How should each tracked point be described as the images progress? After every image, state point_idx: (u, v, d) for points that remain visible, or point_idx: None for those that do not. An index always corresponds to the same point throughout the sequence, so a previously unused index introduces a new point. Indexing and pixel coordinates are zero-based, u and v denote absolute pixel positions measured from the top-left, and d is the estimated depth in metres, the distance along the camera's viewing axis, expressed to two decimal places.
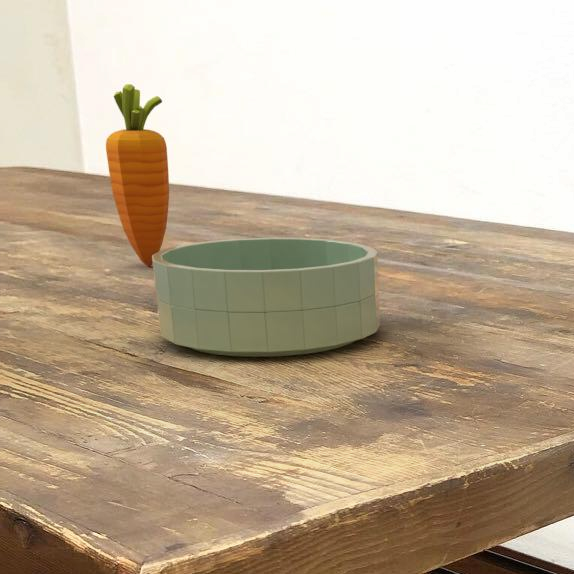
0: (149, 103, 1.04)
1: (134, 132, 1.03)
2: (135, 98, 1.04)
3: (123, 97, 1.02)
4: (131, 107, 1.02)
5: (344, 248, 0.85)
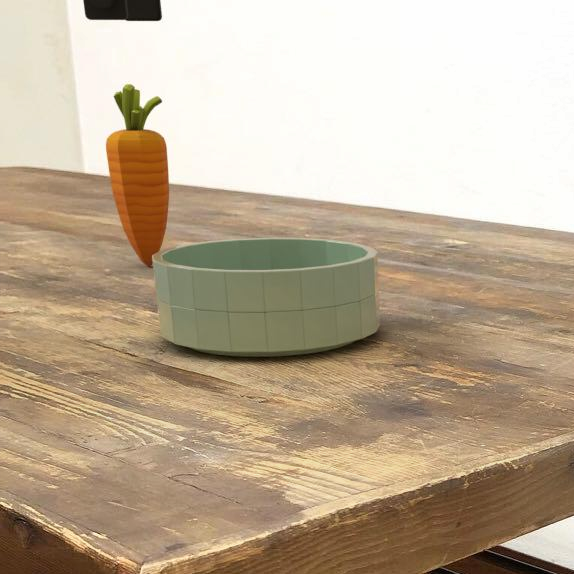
0: (149, 103, 1.04)
1: (134, 132, 1.03)
2: (135, 98, 1.04)
3: (123, 97, 1.02)
4: (131, 107, 1.02)
5: (344, 248, 0.85)
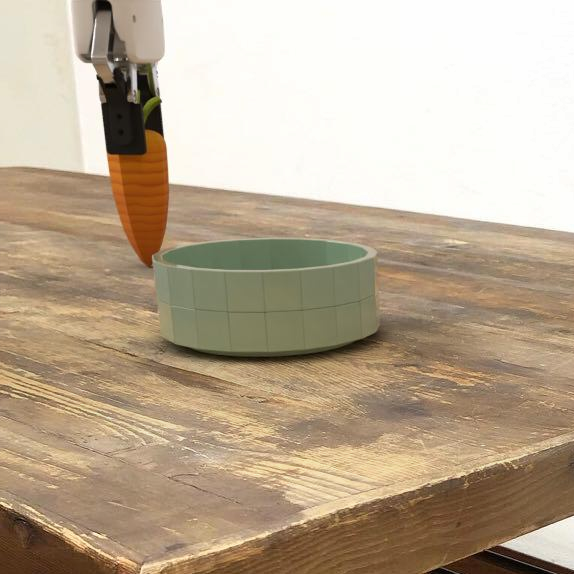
0: (148, 103, 1.04)
1: None
2: None
3: None
4: None
5: (344, 248, 0.85)
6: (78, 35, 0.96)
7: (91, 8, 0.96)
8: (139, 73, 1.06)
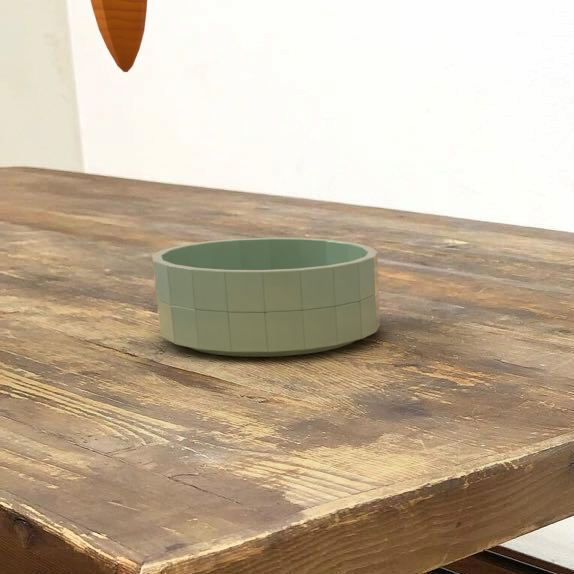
0: None
1: None
2: None
3: None
4: None
5: (344, 248, 0.85)
6: None
7: None
8: None
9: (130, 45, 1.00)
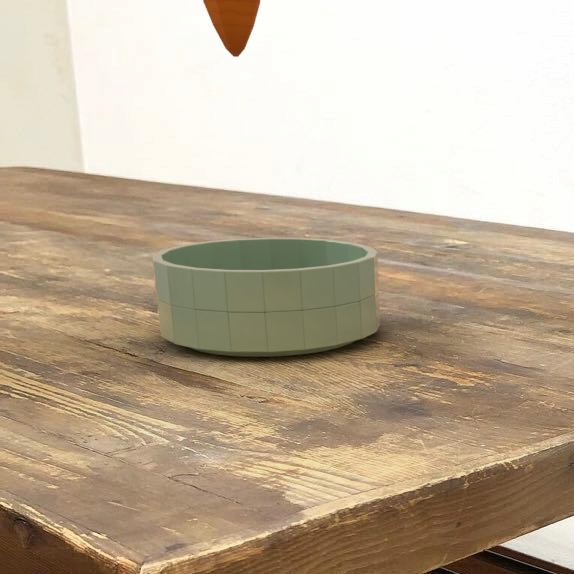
0: None
1: None
2: None
3: None
4: None
5: (344, 248, 0.85)
6: None
7: None
8: None
9: (244, 21, 0.77)
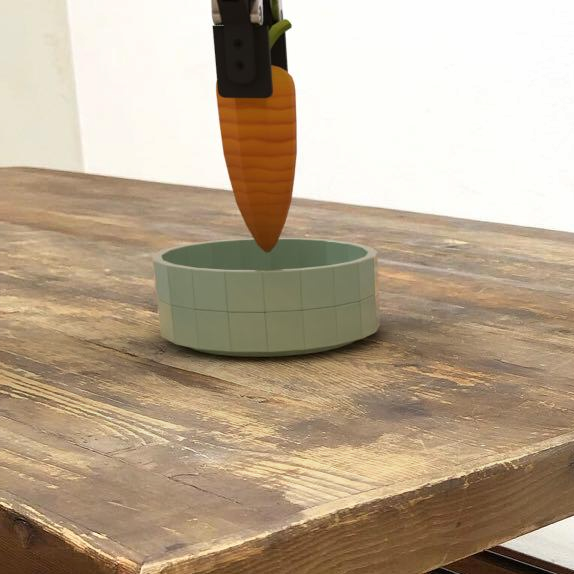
0: (274, 29, 0.76)
1: None
2: None
3: None
4: None
5: (344, 248, 0.85)
6: None
7: None
8: None
9: (276, 222, 0.79)
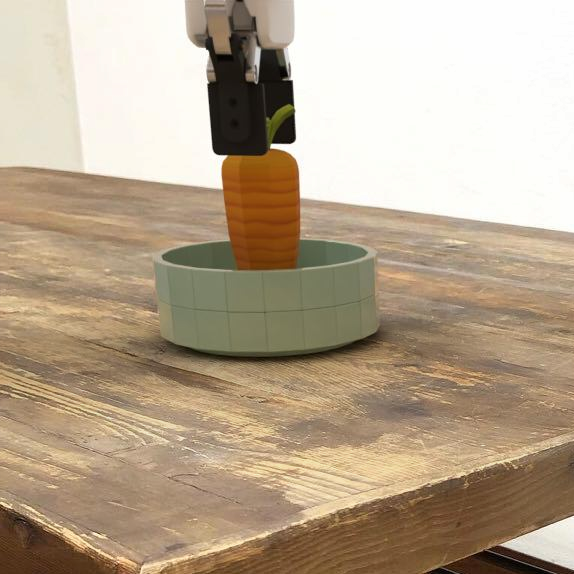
0: (278, 114, 0.78)
1: None
2: None
3: None
4: None
5: (344, 248, 0.85)
6: (192, 9, 0.70)
7: None
8: None
9: None
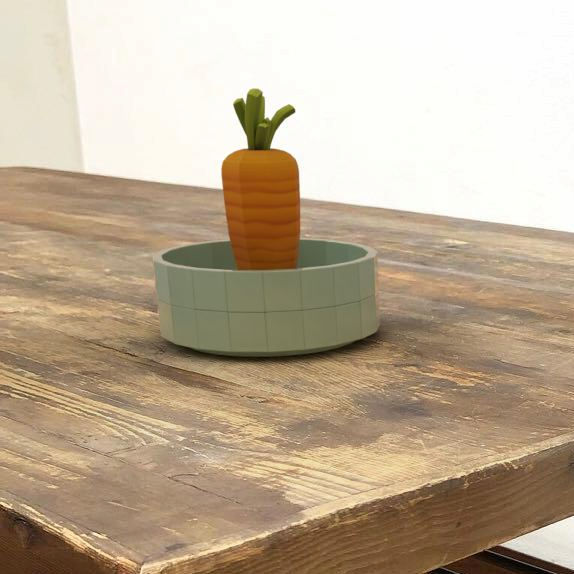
0: (278, 114, 0.78)
1: (260, 153, 0.77)
2: None
3: (247, 106, 0.76)
4: (257, 119, 0.76)
5: (344, 248, 0.85)
6: None
7: None
8: None
9: None
